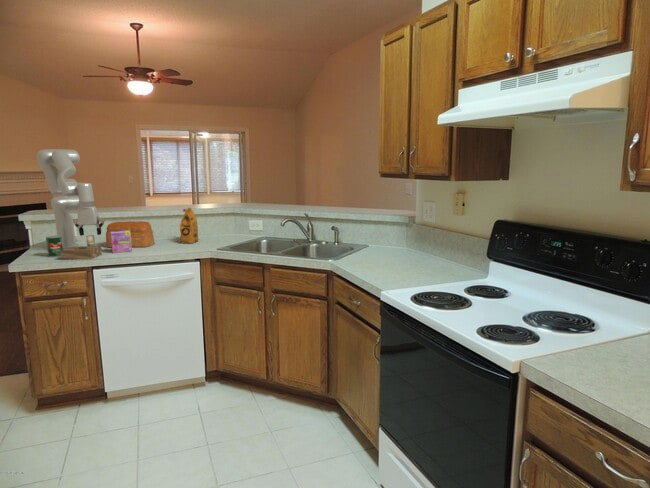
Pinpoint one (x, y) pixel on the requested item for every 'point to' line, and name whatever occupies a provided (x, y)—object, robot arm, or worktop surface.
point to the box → (121, 241)
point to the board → (80, 252)
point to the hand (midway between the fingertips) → (90, 234)
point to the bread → (132, 232)
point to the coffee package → (189, 227)
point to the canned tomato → (54, 245)
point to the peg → (90, 240)
